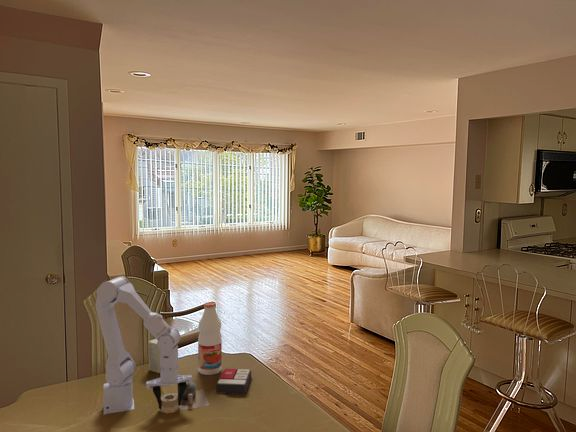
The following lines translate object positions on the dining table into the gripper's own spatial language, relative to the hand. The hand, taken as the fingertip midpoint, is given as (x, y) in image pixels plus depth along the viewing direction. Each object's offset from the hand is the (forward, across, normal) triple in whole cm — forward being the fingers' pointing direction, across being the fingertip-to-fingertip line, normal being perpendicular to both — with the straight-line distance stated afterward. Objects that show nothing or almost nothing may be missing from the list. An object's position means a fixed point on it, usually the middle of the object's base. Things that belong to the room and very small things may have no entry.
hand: (169, 406), depth 145 cm
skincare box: (+2, -1, +35) cm, 35 cm away
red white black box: (+2, +25, +11) cm, 28 cm away
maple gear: (+1, 0, 0) cm, 1 cm away
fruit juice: (+2, +19, +27) cm, 33 cm away
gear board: (+2, +5, +4) cm, 7 cm away
